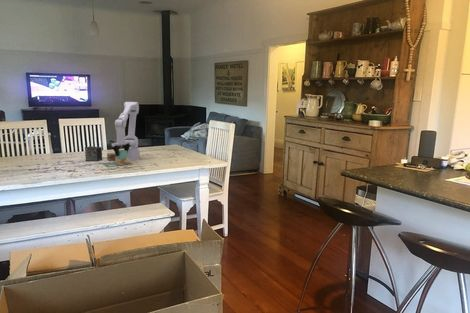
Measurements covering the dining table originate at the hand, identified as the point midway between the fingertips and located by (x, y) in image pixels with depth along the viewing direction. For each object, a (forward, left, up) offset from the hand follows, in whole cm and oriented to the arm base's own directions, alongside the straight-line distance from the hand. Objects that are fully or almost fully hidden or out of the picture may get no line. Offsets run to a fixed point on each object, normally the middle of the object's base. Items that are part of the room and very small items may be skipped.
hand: (121, 155), depth 253 cm
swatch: (+8, +3, -6) cm, 11 cm away
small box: (+13, -24, -7) cm, 28 cm away
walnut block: (+2, -16, -7) cm, 18 cm away
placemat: (+3, -1, -7) cm, 7 cm away
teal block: (0, 0, -2) cm, 2 cm away
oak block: (0, 0, -6) cm, 6 cm away
